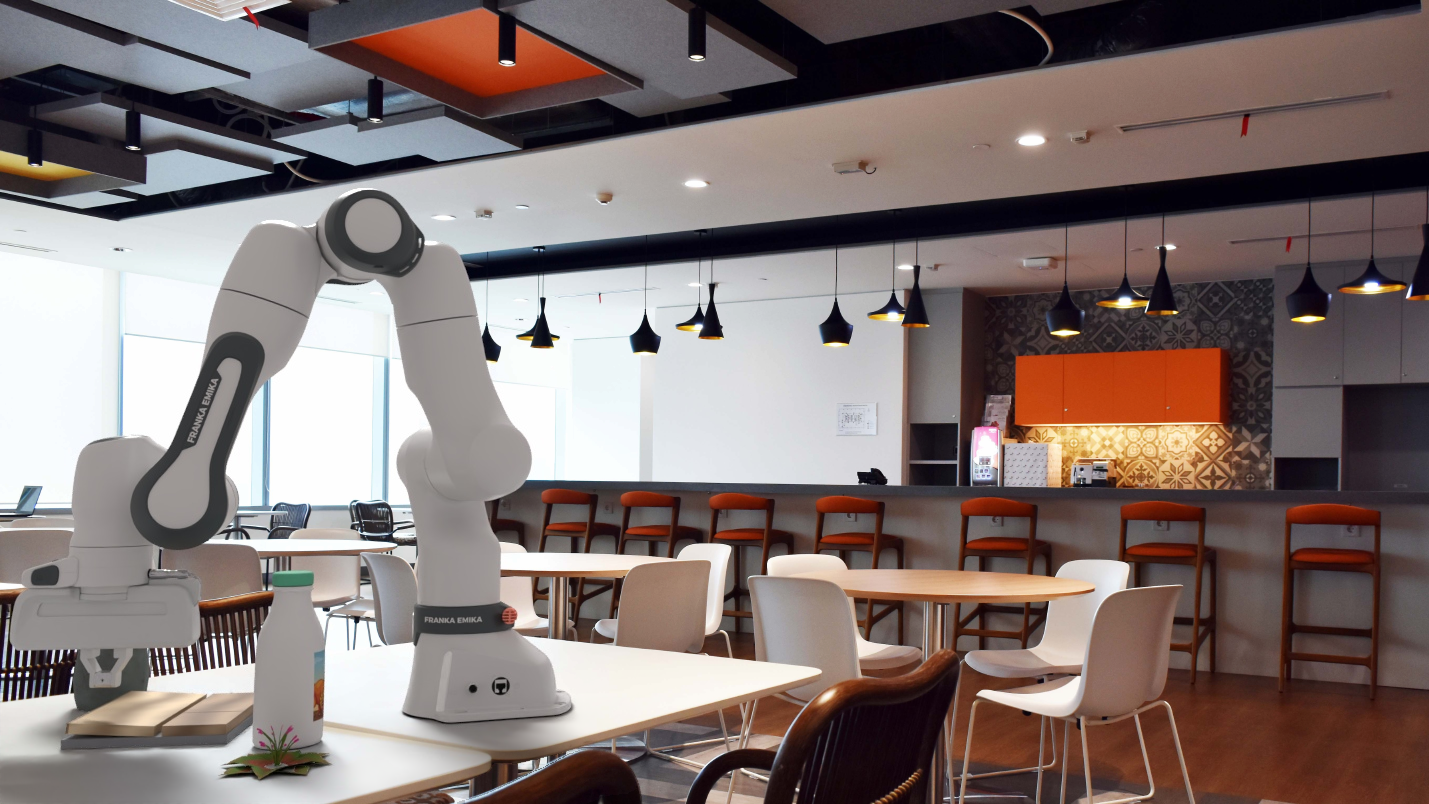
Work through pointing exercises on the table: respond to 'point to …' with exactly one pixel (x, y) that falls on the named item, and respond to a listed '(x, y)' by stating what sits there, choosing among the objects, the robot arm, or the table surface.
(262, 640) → the milk bottle
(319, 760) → the green plant with flowers
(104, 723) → the plank
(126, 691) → the vodka
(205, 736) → the underlay
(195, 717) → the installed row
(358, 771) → the table surface
